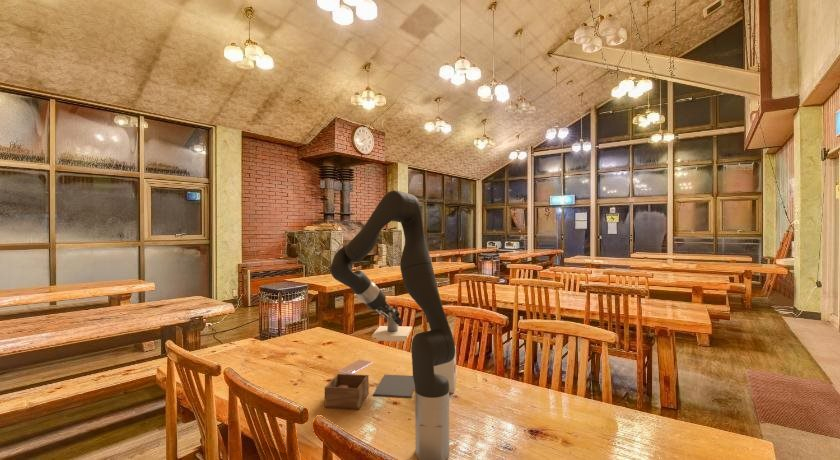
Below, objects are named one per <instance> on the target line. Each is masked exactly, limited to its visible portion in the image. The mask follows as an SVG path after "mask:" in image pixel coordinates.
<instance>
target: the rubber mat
mask: <svg viewBox="0 0 840 460" xmlns="http://www.w3.org/2000/svg"><path fill="white" fill-rule="evenodd" d="M414 392H415V383H414V379H413V375H404V374H403V375H402V374H401V375H400V374H399V375H397V374H384V375H383V376H382V378H381V379H380V382H379V383H378V385H377V387H376V389H375V390H374V392H373V393H372V394H373V396H374V397H390V398H391V397H392V398H410V399H411V398H412V397H413V394H414Z"/></svg>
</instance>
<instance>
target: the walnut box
mask: <svg viewBox="0 0 840 460" xmlns="http://www.w3.org/2000/svg"><path fill="white" fill-rule="evenodd" d="M369 386H370V385H369V375H368V374H355V373H354V374H346V373H336V374H335V375H334V377H332V378H331V379H330V381H329V382H327V384H326V385H325V386H324V408H325V409H337V410H352V411H353V410H355V411H359V410H360V409H361V408H362V406H363V404H364V403H365V401H366V400H367V398H368V396H369V394H370V393H369V392H370V391H369V388H370V387H369Z"/></svg>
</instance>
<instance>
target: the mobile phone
mask: <svg viewBox="0 0 840 460" xmlns="http://www.w3.org/2000/svg"><path fill="white" fill-rule="evenodd" d="M372 364H373V362H372V361H369V360H365V359H358V360H356V361H355V362H352V363H350V364H348V365H346V366H344V367H342V368H340V369H339V370H338V372H339V373H341V374H355V373H358V372H359V371H361V370H363V369H365V368H367V367H369V366H371V365H372Z"/></svg>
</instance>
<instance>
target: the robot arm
mask: <svg viewBox="0 0 840 460" xmlns="http://www.w3.org/2000/svg"><path fill="white" fill-rule="evenodd" d="M391 222H395V223H400V224H401V227H402V230H403V235H404V245H403V249H402V253H401V256H400V257H401V258H400V260H399V261H400V262H399V265H400V266H399V268H400V273H401V277H402V283H403V285H404V288H405V290H406V292H407V293H408V295H409V296H410V297H411V298H412V299H413V301H414V302H415V303H416V304H417V306H419V307H420V309H421V310H422V311H423V312H424V315H425V317H426V319H427V323H428V325H429V329H430V330H426V331H422V332H418V333H416V334H415V335H414V336H413V338H412V341H411V361H412V362H411V365H412V376H413V379H414V383H415V388H414V414H415V415H414V417H415V418H414V419H415V420H414V421H415V423H414V425H415V426H414V428H415V431H414V435H415V437H414V438H415V439H414V440H415V457H416V458H417V457H418V458H419V459H418V458H417V459H418V460H447V459H448V458H449V456H450V393H449V381H448V379H447V378H446V377H444V376H442V375H439V374H435V373H434V366H437V365H441V364H444V363H448V362H450V361H452V360H453V358H454V356H455V346H456V345H455V339H454V335H453V333H452V330H451V327H450V323H449V321H448V319H447V315H446V313H445V312H446V311H445V310H444V307H443V303H442V301H441V296H440V293H439V289H438V284H437V281H436V275H435V271H434V267H433V263H432V260H431V256H430V253H429V248H428V243H427V240H426V235H425V230H424V229H425V228H424V223H423V215H422V209H421V204H420V201H419V199H418V198H417V196H415V195H414V194H411V193H408V192H404V191H401V190H400V191H399V190H390V191H388V192H387V193H386V194H385V195H384V196H383V197H382V198H381V200H380V201H379V202H378V204H377V206H376V207H375V209H374V210H373V212H372V214H371V215H370V216H369V218H368V220H366V222H365V224H364V225H363V226H362V228H361V230H360V231H359V232H358V233H357V234H356V235H355V236H354V237H353V238H352V239H351V240H350V241H349V242H348V243H347V244H346V245H344V246H343V247H341V248H339V250H338V251H337V252H336V253H335V254H334V256H333V258H332V262H331V264H330V268H329V271H330V274H331V276H332V277H333V279H335V280H336V281H337V282H339V283H341V284H343V285H345V286H347V287H349V289H350V290H351V291H353V293H354V294H355V295H356V296H357V297H358V299H359V300H360V301H361V302H362V303H363V304H365V306H366V307H367V308H368V309H369V310H371V311H374V312H375V313H377V314H378V315H379V316H381V317H383V318H385V319H386V320H387V317H391V318H392V319H393V320H394V321H395V322H396V323H397V324H398V326H400V325H401V324H402V323H403V319H402V318H401V317H400V315H401V313H400V312H399V310H397V309H398V308H397V307H396V306H395V305H393V306H391V305H390V304H389V302H387V301H386V299H387V297H386V294H385V293H384V292H383V290H381V289H380V287H378V286H377V285H376V283H375V282H373V281H372V280H371V279H370V278H369V277H368V276H367V275H366V273H364V272H363V271H361V270H358V269H357V270H352V269H353V266H354V263H356V262H360V261H362V260H364V259H365V257H366V256H367V255H369V253H371V252H372V251H373V249H374V248H375V247H376V245H377V244H378V243H377V242H378V241H379V236H380V233H381V231H382V230H383V228H385V227H386V226H387V225H388V224H389V223H391ZM389 311H390V312H389ZM388 313H389V314H388Z"/></svg>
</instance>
